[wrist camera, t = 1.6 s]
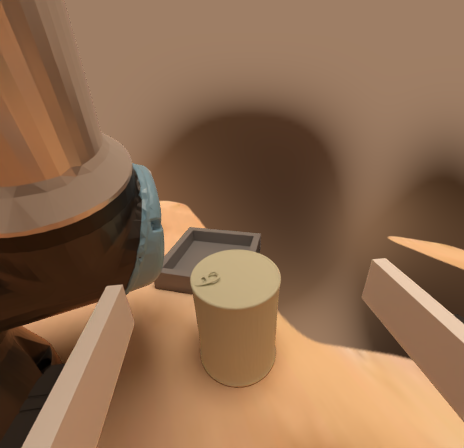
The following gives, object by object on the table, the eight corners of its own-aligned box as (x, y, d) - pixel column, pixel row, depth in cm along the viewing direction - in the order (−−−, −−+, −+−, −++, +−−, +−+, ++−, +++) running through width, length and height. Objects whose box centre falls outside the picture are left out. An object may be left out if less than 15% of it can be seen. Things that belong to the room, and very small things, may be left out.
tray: (155, 288, 39) (151, 271, 38) (191, 241, 52) (189, 227, 51) (246, 303, 36) (246, 285, 34) (260, 248, 49) (260, 233, 47)
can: (193, 329, 32) (181, 255, 26) (256, 310, 35) (257, 239, 29) (211, 401, 24) (200, 317, 19) (290, 369, 27) (301, 287, 21)
